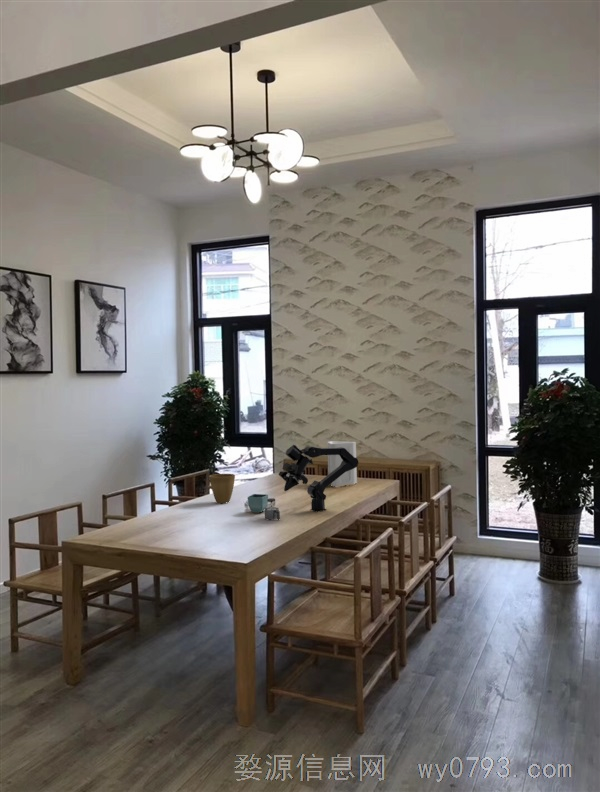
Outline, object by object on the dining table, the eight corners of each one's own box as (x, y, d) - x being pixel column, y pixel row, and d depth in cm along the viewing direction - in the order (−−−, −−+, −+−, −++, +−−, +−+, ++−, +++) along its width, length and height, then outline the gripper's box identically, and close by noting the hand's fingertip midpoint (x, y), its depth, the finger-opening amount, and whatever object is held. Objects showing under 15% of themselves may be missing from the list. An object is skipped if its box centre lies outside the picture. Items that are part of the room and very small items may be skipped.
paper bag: (321, 486, 415) (319, 443, 414) (331, 482, 427) (330, 441, 427) (347, 488, 405) (346, 444, 404) (357, 484, 418) (356, 442, 417)
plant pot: (236, 504, 364) (235, 476, 364) (210, 505, 362) (209, 477, 361) (235, 499, 379) (234, 472, 378) (210, 500, 376) (209, 474, 376)
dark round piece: (272, 508, 326) (272, 497, 326) (278, 510, 322) (278, 498, 322) (264, 510, 323) (264, 499, 323) (270, 511, 319) (270, 500, 319)
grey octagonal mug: (273, 516, 328) (273, 506, 328) (284, 519, 320) (284, 509, 320) (262, 518, 324) (262, 508, 323) (273, 521, 316) (273, 511, 316)
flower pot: (263, 514, 334) (262, 497, 334) (247, 513, 337) (247, 496, 337) (269, 510, 342) (268, 494, 342) (254, 510, 345) (253, 493, 345)
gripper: (280, 455, 338) (264, 479, 331) (301, 458, 323) (286, 483, 317) (292, 468, 343) (277, 492, 337) (314, 471, 328) (299, 496, 322)
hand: (284, 490), depth 328 cm, fingers closed
